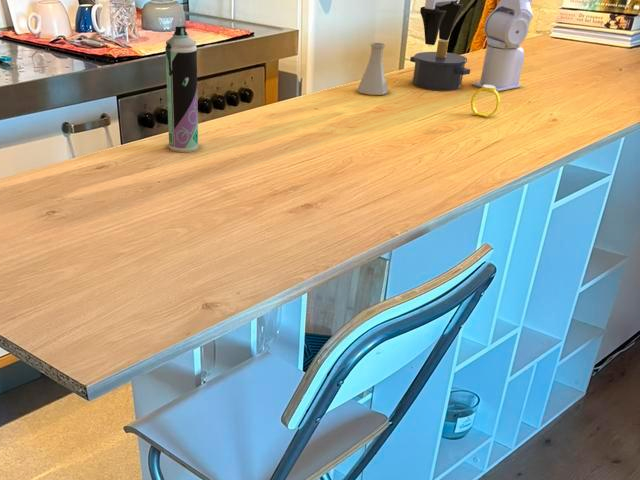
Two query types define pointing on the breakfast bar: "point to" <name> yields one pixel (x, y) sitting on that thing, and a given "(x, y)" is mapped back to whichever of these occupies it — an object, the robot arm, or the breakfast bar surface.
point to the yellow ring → (486, 88)
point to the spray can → (182, 91)
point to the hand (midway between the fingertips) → (436, 42)
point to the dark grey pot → (438, 76)
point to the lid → (440, 56)
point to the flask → (374, 73)
